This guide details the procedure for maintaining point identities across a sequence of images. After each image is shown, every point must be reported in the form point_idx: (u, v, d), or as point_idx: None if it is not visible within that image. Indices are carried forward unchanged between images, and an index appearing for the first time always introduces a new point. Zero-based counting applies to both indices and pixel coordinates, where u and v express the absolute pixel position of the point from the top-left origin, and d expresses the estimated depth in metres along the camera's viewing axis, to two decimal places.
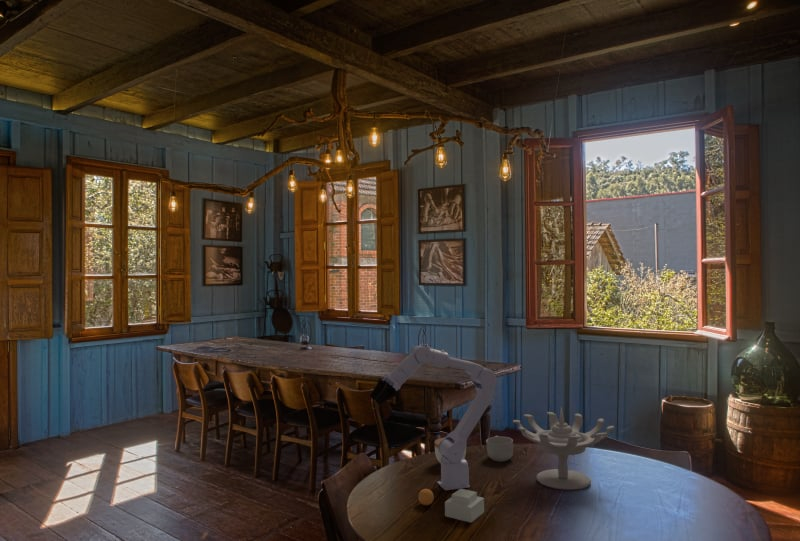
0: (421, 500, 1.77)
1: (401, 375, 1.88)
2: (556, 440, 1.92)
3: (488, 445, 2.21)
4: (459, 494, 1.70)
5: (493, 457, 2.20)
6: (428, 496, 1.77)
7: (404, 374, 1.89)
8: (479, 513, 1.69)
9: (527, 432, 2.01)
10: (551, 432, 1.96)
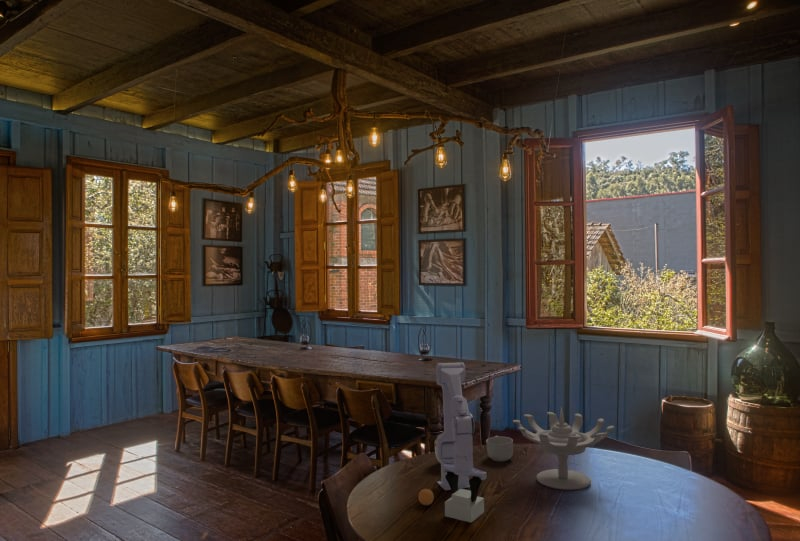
0: (421, 500, 1.77)
1: (471, 460, 1.70)
2: (556, 440, 1.92)
3: (488, 445, 2.21)
4: (459, 494, 1.70)
5: (493, 457, 2.20)
6: (428, 496, 1.77)
7: (471, 457, 1.70)
8: (479, 513, 1.69)
9: (527, 432, 2.01)
10: (551, 432, 1.96)
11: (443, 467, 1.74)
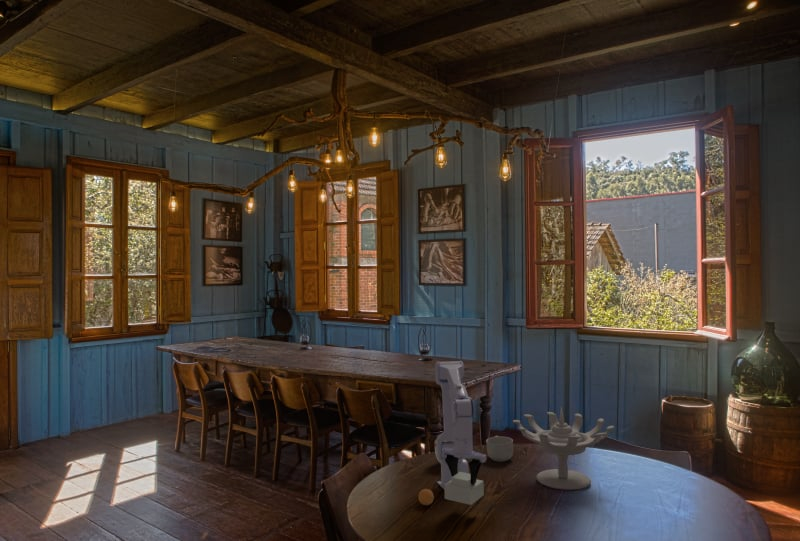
0: (421, 500, 1.77)
1: (471, 443, 1.70)
2: (556, 440, 1.92)
3: (488, 445, 2.21)
4: (459, 477, 1.70)
5: (493, 457, 2.20)
6: (428, 496, 1.77)
7: (471, 439, 1.70)
8: (479, 496, 1.70)
9: (527, 432, 2.01)
10: (551, 432, 1.96)
11: (443, 450, 1.74)
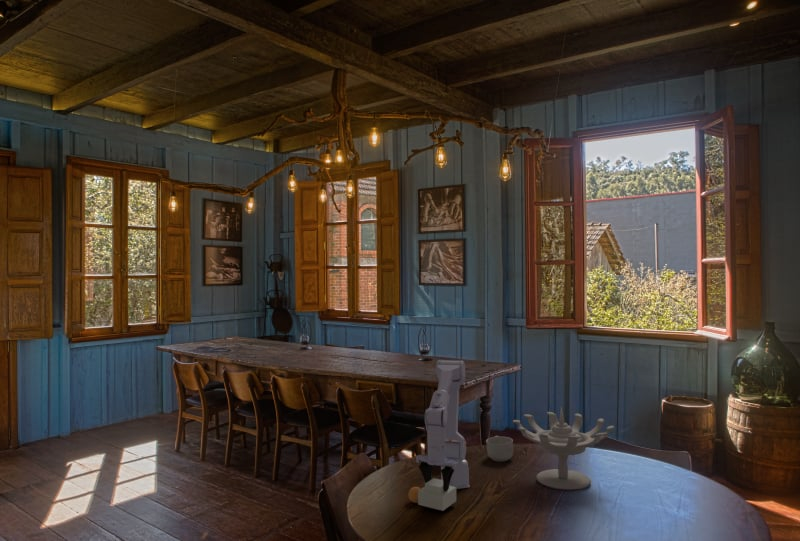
0: (413, 498, 1.79)
1: (444, 451, 1.75)
2: (556, 440, 1.92)
3: (488, 445, 2.21)
4: (432, 483, 1.76)
5: (493, 457, 2.20)
6: (411, 490, 1.80)
7: (444, 447, 1.75)
8: (451, 502, 1.75)
9: (527, 432, 2.01)
10: (551, 432, 1.96)
11: (417, 457, 1.80)
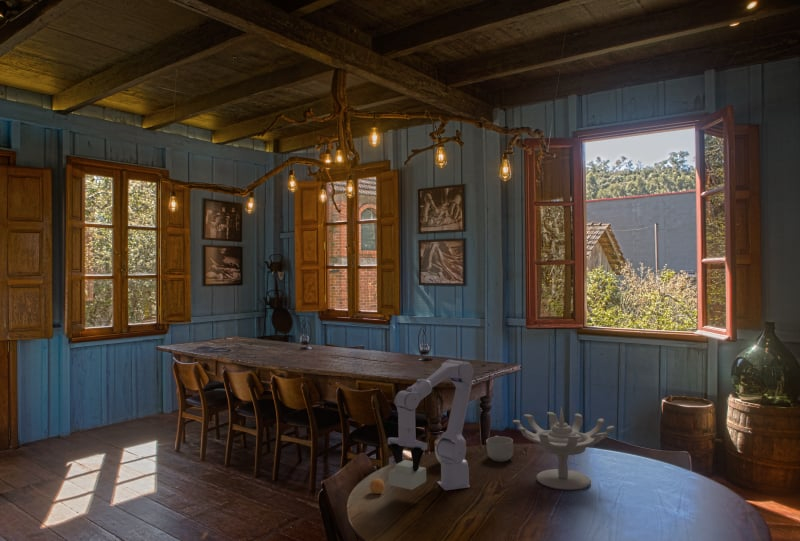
0: (373, 489, 1.87)
1: (414, 432, 1.82)
2: (556, 440, 1.92)
3: (488, 445, 2.21)
4: (402, 464, 1.82)
5: (493, 457, 2.20)
6: (372, 481, 1.88)
7: (414, 429, 1.82)
8: (421, 482, 1.81)
9: (527, 432, 2.01)
10: (551, 432, 1.96)
11: (388, 439, 1.86)
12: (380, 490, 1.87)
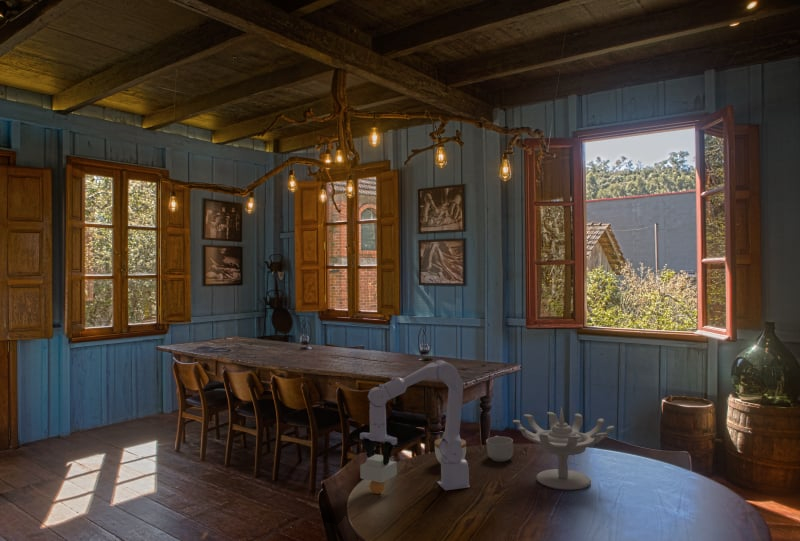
0: (373, 489, 1.87)
1: (384, 427, 1.89)
2: (556, 440, 1.92)
3: (488, 445, 2.21)
4: (373, 458, 1.89)
5: (493, 457, 2.20)
6: (372, 481, 1.88)
7: (384, 424, 1.89)
8: (391, 475, 1.88)
9: (527, 432, 2.01)
10: (551, 432, 1.96)
11: (361, 434, 1.93)
12: (380, 490, 1.87)
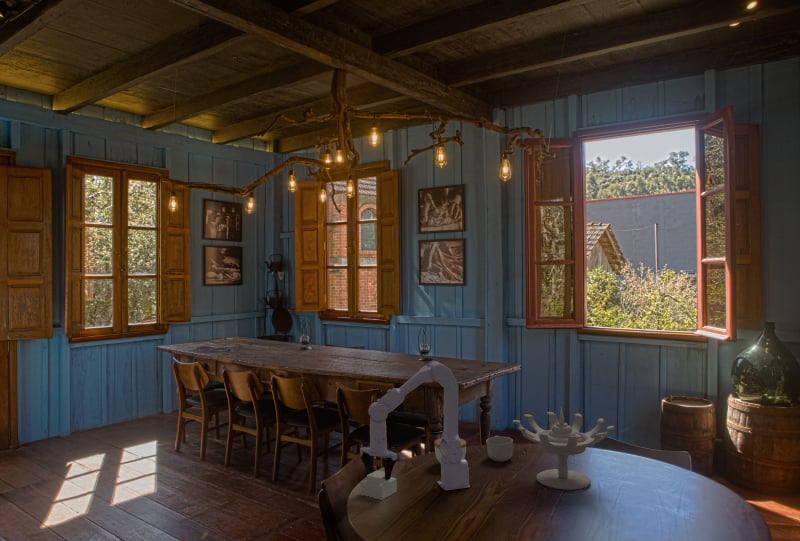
0: None
1: (384, 443, 1.88)
2: (556, 440, 1.92)
3: (488, 445, 2.21)
4: (373, 475, 1.89)
5: (493, 457, 2.20)
6: None
7: (385, 439, 1.89)
8: (391, 492, 1.88)
9: (527, 432, 2.01)
10: (551, 432, 1.96)
11: (361, 449, 1.93)
12: None
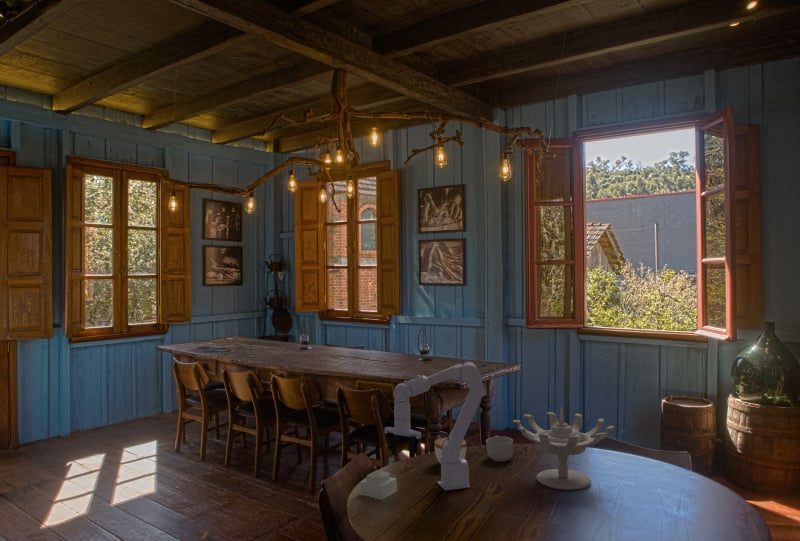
0: None
1: (408, 422, 1.95)
2: (556, 440, 1.92)
3: (488, 445, 2.21)
4: (373, 475, 1.89)
5: (493, 457, 2.20)
6: None
7: (409, 419, 1.96)
8: (391, 492, 1.88)
9: (527, 432, 2.01)
10: (551, 432, 1.96)
11: (385, 429, 2.00)
12: None
